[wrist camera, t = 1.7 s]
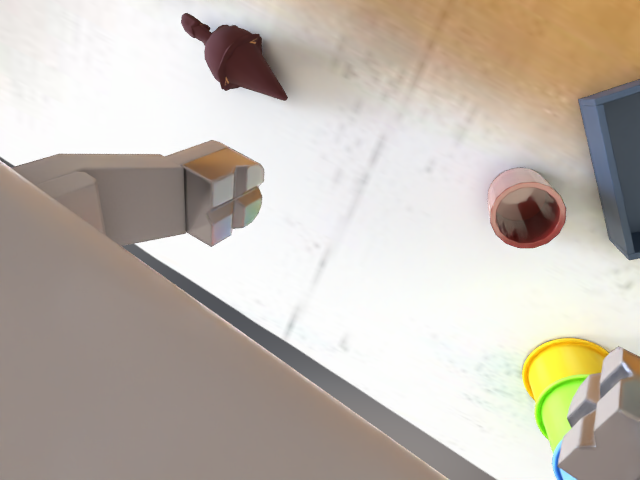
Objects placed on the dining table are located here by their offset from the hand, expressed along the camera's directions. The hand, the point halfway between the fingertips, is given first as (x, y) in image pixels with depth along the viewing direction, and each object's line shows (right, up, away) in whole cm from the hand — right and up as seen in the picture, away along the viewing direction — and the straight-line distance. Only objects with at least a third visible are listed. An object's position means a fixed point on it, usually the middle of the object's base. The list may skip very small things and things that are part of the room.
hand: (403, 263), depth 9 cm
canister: (+20, +5, +37) cm, 43 cm away
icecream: (-10, +22, +43) cm, 49 cm away
